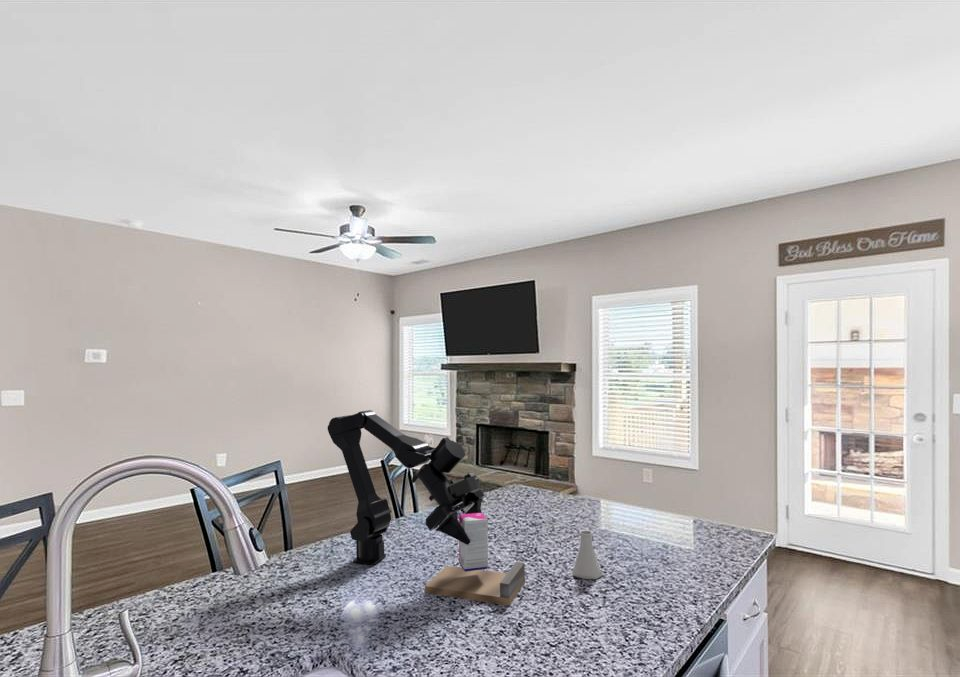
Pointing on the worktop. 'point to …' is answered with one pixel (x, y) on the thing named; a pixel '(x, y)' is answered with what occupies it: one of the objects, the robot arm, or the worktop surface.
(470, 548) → the supplement box
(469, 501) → the robot arm
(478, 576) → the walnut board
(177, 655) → the worktop surface
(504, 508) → the worktop surface
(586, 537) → the flask
